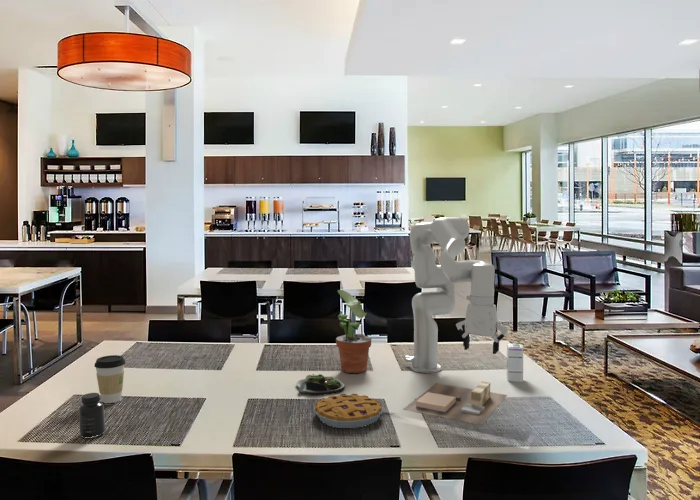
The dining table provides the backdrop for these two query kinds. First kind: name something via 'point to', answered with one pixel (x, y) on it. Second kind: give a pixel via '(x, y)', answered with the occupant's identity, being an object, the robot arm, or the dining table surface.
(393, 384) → the dining table surface
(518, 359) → the syrup box
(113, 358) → the coffee cup
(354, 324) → the potted plant
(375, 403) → the pie
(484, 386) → the tan bar
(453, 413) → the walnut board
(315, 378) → the salad plate
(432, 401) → the tile
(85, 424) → the supplement bottle
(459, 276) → the robot arm
